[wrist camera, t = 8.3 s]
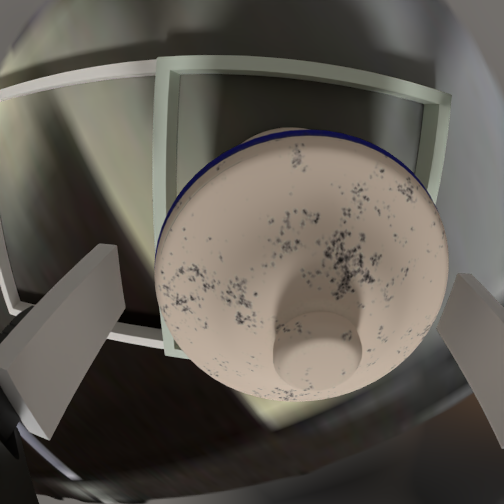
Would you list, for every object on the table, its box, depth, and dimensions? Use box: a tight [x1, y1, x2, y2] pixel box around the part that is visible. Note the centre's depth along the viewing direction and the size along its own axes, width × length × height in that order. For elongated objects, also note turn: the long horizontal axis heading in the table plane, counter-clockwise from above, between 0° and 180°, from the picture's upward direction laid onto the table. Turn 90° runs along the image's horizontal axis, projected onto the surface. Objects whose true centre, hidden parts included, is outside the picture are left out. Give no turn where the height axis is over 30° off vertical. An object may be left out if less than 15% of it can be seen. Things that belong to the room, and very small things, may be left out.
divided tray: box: [0, 55, 452, 359], centre depth 17 cm, size 29×17×2 cm, turn 86°
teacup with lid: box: [155, 127, 449, 401], centre depth 12 cm, size 12×9×12 cm
